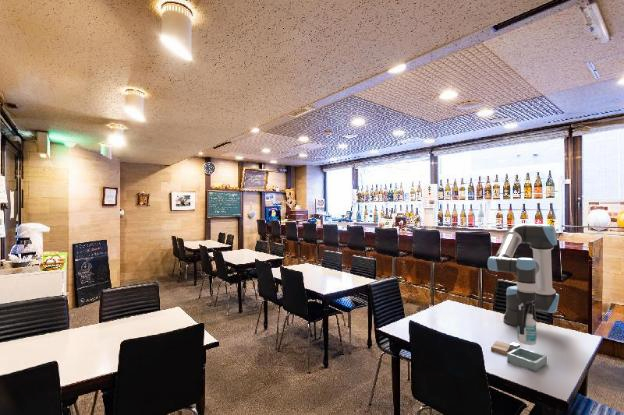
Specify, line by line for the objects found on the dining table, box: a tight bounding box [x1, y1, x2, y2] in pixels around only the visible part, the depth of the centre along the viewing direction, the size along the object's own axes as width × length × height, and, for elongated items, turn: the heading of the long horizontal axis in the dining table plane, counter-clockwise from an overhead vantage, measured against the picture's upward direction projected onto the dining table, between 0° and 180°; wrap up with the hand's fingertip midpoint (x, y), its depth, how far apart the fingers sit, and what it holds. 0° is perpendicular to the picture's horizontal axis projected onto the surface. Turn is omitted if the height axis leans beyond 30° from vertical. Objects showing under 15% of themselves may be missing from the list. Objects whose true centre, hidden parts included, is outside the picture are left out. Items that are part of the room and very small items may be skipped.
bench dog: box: [509, 341, 521, 351], centre depth 158 cm, size 4×3×5 cm
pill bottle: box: [516, 313, 537, 346], centre depth 148 cm, size 8×7×14 cm
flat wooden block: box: [490, 340, 511, 356], centre depth 163 cm, size 10×7×2 cm
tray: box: [506, 346, 548, 373], centre depth 149 cm, size 12×12×4 cm
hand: (526, 338), depth 148 cm, fingers closed on pill bottle, 7 cm apart
